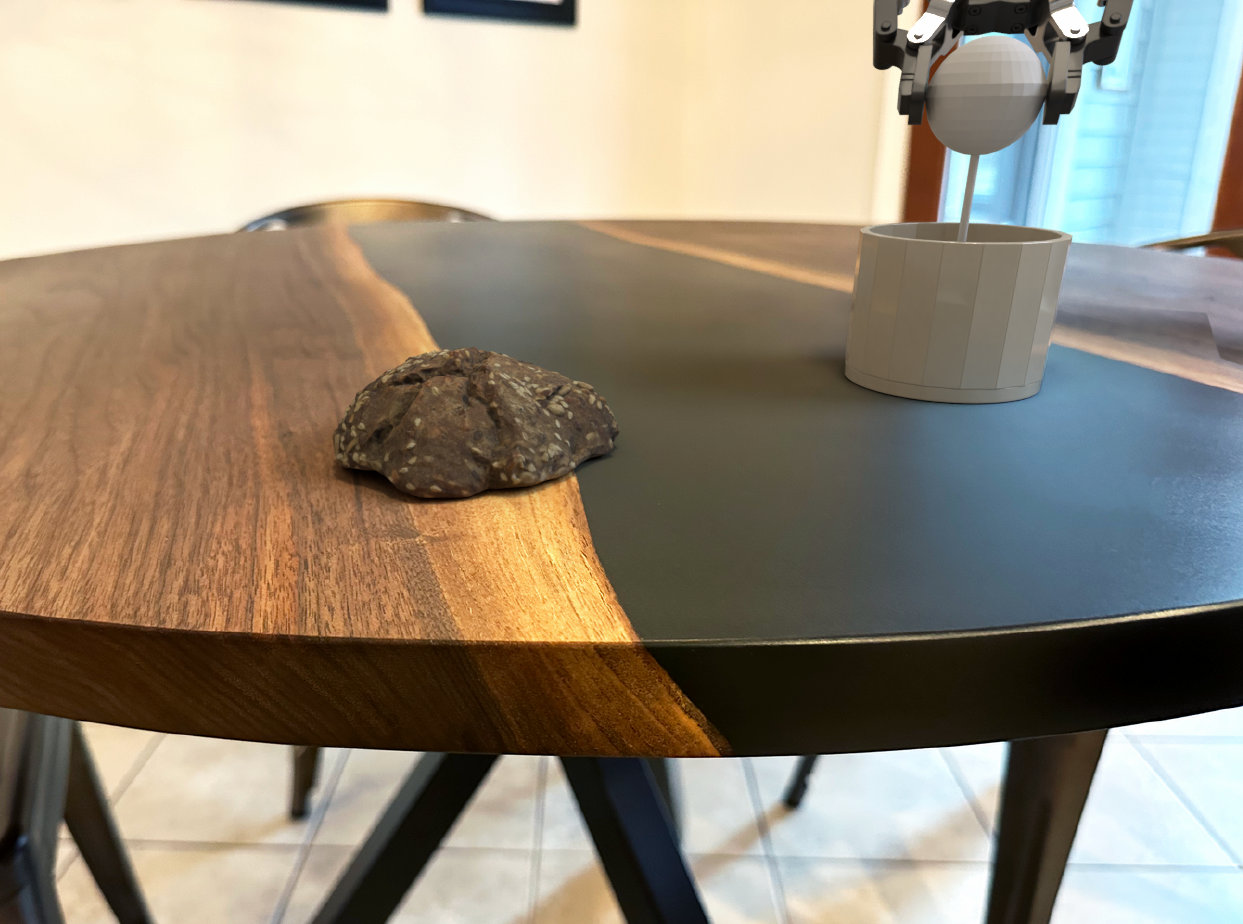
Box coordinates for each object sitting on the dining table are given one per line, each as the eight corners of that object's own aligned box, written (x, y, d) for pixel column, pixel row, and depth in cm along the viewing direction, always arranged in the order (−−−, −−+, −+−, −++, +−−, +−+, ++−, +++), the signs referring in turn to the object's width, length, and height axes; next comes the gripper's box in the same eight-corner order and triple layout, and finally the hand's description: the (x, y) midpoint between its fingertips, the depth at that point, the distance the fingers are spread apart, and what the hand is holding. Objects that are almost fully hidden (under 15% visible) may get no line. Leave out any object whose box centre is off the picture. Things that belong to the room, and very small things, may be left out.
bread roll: (443, 402, 53) (438, 312, 51) (644, 435, 47) (648, 335, 45) (275, 470, 42) (261, 362, 41) (506, 523, 37) (502, 399, 35)
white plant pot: (972, 353, 62) (995, 219, 59) (1084, 398, 52) (1119, 240, 49) (815, 360, 61) (829, 223, 58) (898, 408, 51) (921, 245, 48)
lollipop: (873, 316, 57) (908, 38, 51) (947, 307, 59) (989, 40, 53) (950, 335, 52) (999, 29, 46) (1028, 326, 54) (1085, 31, 48)
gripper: (887, -162, 54) (842, 58, 49) (1176, -192, 49) (1163, 50, 44) (880, -43, 61) (840, 163, 55) (1135, -58, 56) (1118, 166, 50)
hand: (983, 112), depth 50 cm, fingers closed on lollipop, 6 cm apart
